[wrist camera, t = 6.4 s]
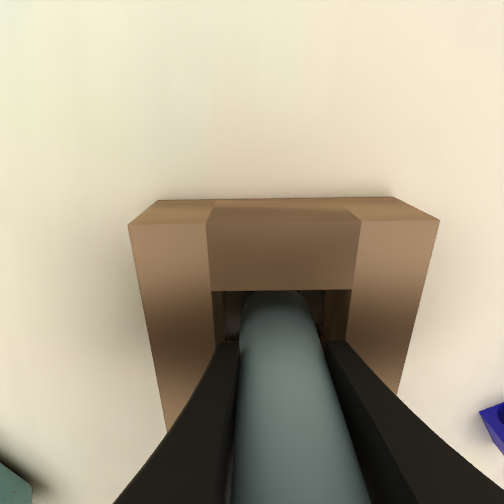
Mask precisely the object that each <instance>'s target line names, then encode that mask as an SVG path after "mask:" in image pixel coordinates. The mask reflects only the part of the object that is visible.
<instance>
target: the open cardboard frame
mask: <svg viewBox="0 0 504 504" xmlns="http://www.w3.org/2000/svg"><path fill="white" fill-rule="evenodd" d="M439 222H440V220H439V219H437V218H435V217H433V216H431V215H429V214H427V213H425V212H423V211H421V210H419V209H417V208H415V207H413V206H411V205H409V204H407V203H405V202H403V201H401V200H399V199H397V198H395V197H353V198H287V199H221V200H158V201H156V202H155V203H154V204H153V205H152V206H150V207H149V208H148V209H147V210H145V211H144V212H143V213H142V214H140V215H139V216H138V217H137V218H135V219H134V220H133V221H132V222H130V223H129V224H128V230H129V236H130V241H131V246H132V251H133V256H134V262H135V267H136V272H137V277H138V283H139V288H140V293H141V298H142V304H143V309H144V314H145V319H146V324H147V330H148V335H149V340H150V345H151V351H152V356H153V361H154V366H155V372H156V377H157V382H158V387H159V392H160V398H161V403H162V408H163V413H164V419H165V424H166V429H167V433H168V431H169V430H170V428H171V427H172V425H173V424H174V422H175V421H176V419H177V418H178V416H179V414H180V413H181V411H182V410H183V408H184V407H185V405H186V404H187V402H188V400H189V399H190V397H191V395H192V393H193V392H194V390H195V388H196V386H197V385H198V383H199V381H200V379H201V378H202V376H203V374H204V372H205V370H206V368H207V366H208V364H209V362H210V360H211V358H212V355H213V353H214V351H215V348H216V346H217V344H219V343H220V342H239V340H237V341H225V325H224V309H223V293H222V291H263V290H325V300H324V310H323V321H322V331H321V339H319V340H320V343H321V346H322V349H323V352H324V354H325V344H326V341H346V342H347V343H348V344H349V345H350V346H351V347H352V348H353V349H354V350H355V352H356V353H357V354H358V355H359V356H360V357H361V358H362V359H363V361H364V362H365V363H366V364H367V365H368V366H369V367H370V368H371V369H372V371H373V372H374V373H375V374H376V375H377V376H378V377H379V378H380V379H381V380H382V381H383V382H384V383H385V384H386V385H387V387H388V388H389V389H390V390H391V391H392V392H393V393H394V394H395V395H397V391H398V387H399V383H400V379H401V375H402V371H403V367H404V363H405V359H406V355H407V351H408V347H409V343H410V339H411V335H412V331H413V327H414V323H415V319H416V315H417V311H418V307H419V303H420V299H421V295H422V291H423V287H424V283H425V279H426V275H427V271H428V267H429V263H430V259H431V254H432V250H433V246H434V242H435V238H436V234H437V230H438V226H439Z"/></svg>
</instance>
